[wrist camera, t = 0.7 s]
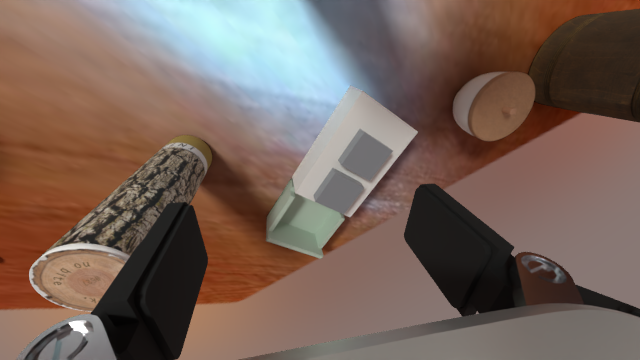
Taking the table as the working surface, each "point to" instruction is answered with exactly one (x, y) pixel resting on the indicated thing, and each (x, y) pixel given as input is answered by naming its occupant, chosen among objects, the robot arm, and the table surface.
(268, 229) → the box
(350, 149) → the slate tile front
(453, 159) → the table surface
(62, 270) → the bark-textured canister
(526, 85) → the lidded jar
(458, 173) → the table surface
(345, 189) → the slate tile back
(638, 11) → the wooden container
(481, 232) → the robot arm
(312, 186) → the white rectangular block
